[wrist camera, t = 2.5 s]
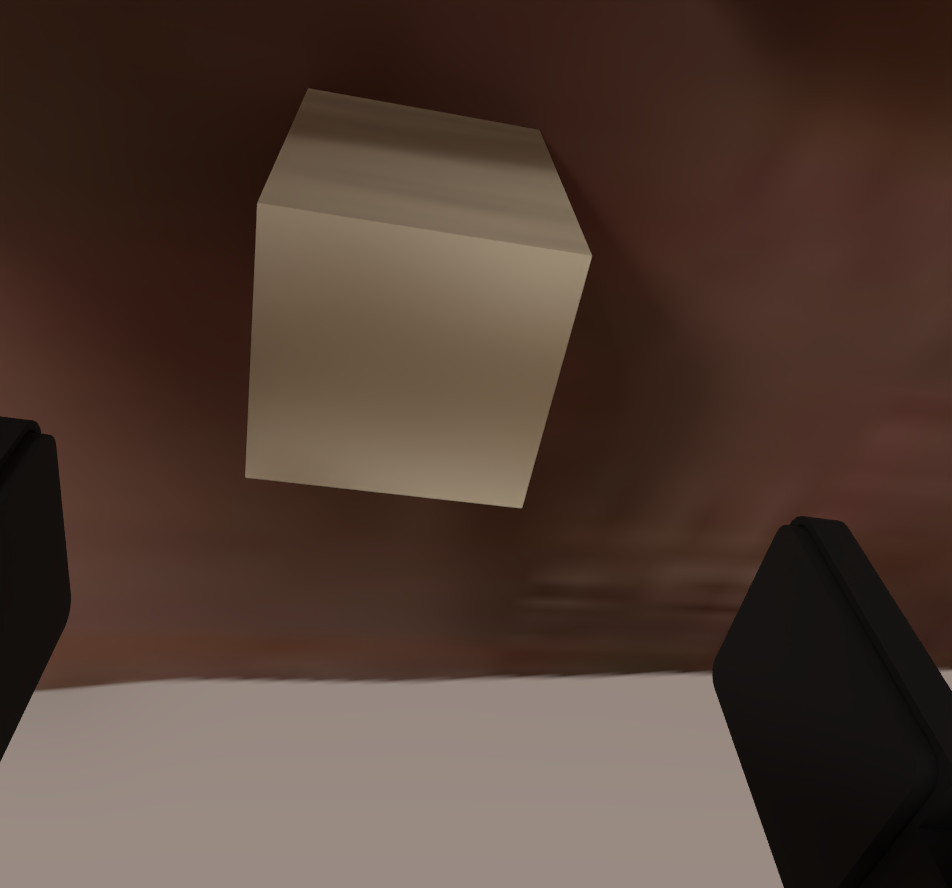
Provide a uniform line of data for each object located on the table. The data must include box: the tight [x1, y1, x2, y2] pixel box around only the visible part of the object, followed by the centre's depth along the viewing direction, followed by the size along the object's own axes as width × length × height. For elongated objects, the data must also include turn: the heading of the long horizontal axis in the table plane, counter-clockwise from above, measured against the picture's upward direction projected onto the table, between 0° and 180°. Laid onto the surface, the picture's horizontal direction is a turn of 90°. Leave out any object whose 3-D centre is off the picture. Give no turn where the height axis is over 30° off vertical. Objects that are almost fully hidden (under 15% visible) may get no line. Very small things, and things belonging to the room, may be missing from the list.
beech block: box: [245, 88, 592, 508], centre depth 17 cm, size 5×5×7 cm
